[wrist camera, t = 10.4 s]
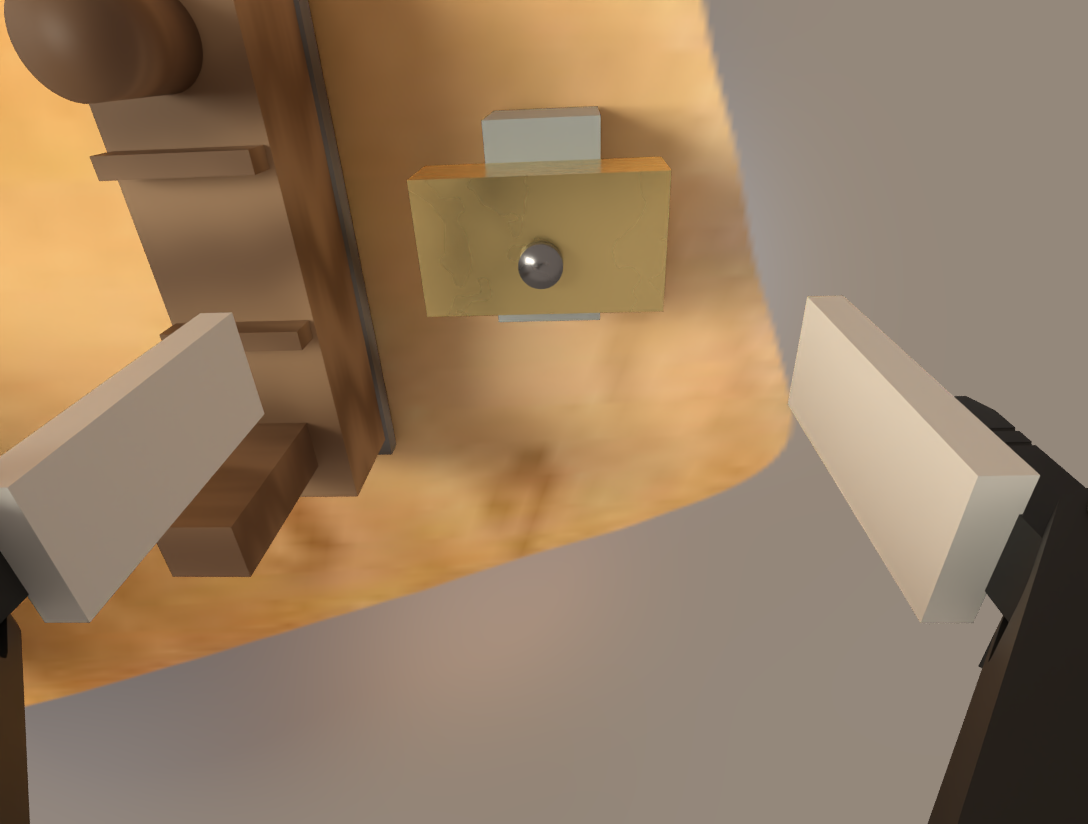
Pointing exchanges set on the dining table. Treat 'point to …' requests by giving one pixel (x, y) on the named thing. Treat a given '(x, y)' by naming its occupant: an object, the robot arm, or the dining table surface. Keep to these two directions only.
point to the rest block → (543, 153)
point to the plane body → (234, 234)
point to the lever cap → (542, 236)
